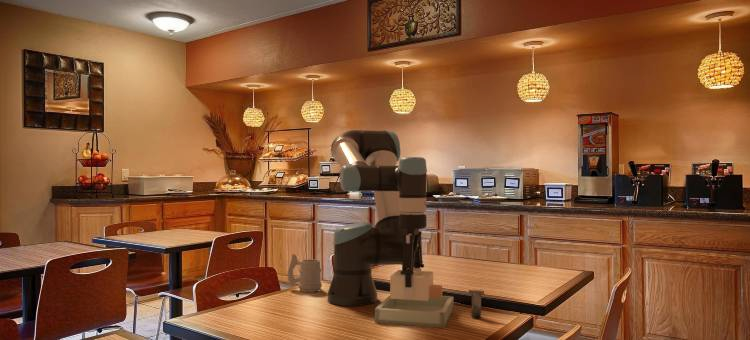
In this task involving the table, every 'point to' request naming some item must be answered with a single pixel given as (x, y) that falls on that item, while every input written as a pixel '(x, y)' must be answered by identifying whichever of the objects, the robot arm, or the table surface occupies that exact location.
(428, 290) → the beige recessed block
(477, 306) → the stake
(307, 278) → the mug
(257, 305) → the table surface
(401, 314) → the tray
